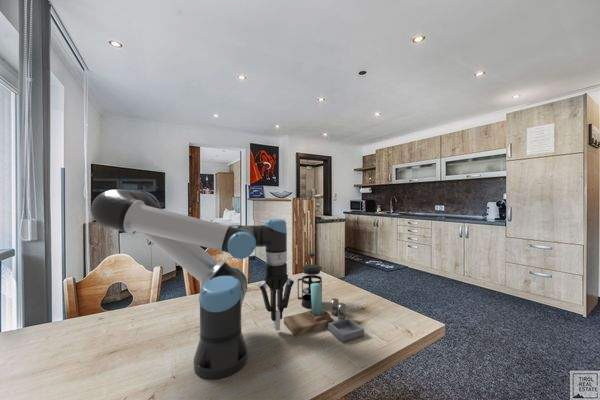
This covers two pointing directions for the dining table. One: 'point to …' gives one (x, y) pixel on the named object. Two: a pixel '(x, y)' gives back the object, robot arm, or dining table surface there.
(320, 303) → the dowel
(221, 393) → the dining table surface
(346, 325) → the tray
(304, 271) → the french press
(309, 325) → the brown flat block
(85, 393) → the dining table surface
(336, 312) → the bench dogs
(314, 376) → the dining table surface
